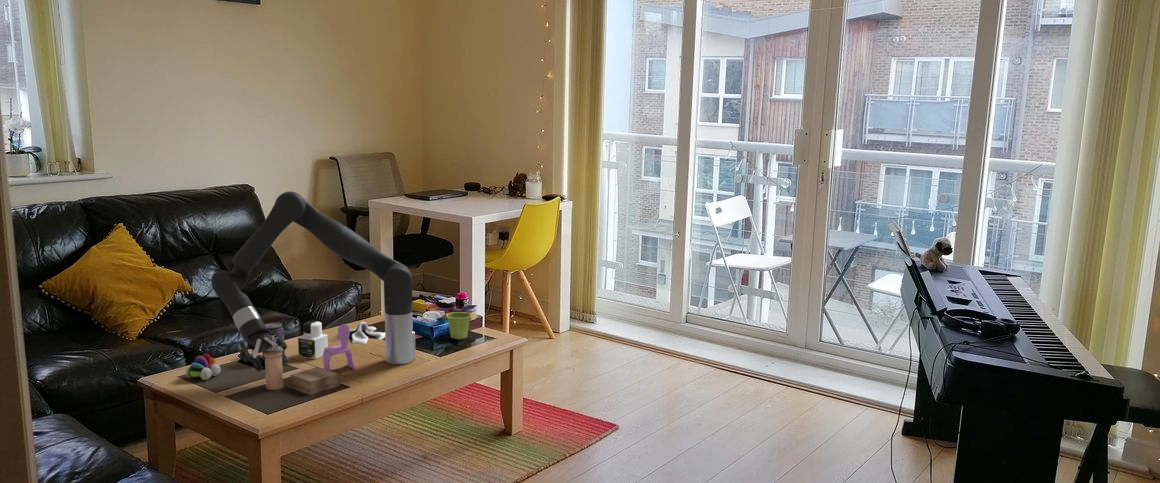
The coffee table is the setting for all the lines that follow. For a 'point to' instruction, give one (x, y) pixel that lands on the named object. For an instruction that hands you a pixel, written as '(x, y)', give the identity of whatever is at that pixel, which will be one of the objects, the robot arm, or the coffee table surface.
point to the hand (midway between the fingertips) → (273, 366)
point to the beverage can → (274, 331)
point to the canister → (273, 369)
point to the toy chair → (339, 348)
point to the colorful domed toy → (203, 368)
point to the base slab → (314, 380)
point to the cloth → (364, 333)
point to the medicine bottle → (312, 340)
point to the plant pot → (458, 324)
